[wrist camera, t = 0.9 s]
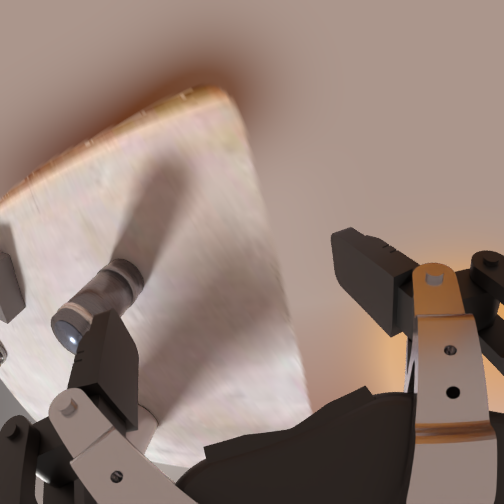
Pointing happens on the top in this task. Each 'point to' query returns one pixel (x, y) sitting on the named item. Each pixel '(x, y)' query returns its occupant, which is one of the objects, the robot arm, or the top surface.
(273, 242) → the top surface
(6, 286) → the grey socket block
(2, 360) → the ceramic mug
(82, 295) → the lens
